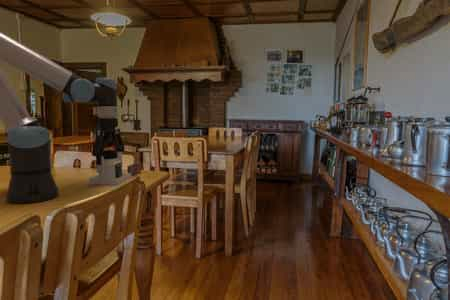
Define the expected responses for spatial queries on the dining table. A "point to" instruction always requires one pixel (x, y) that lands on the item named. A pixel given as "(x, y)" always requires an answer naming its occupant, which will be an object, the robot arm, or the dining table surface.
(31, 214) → the dining table surface
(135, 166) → the rack
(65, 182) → the dining table surface
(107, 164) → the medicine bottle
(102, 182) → the tray
